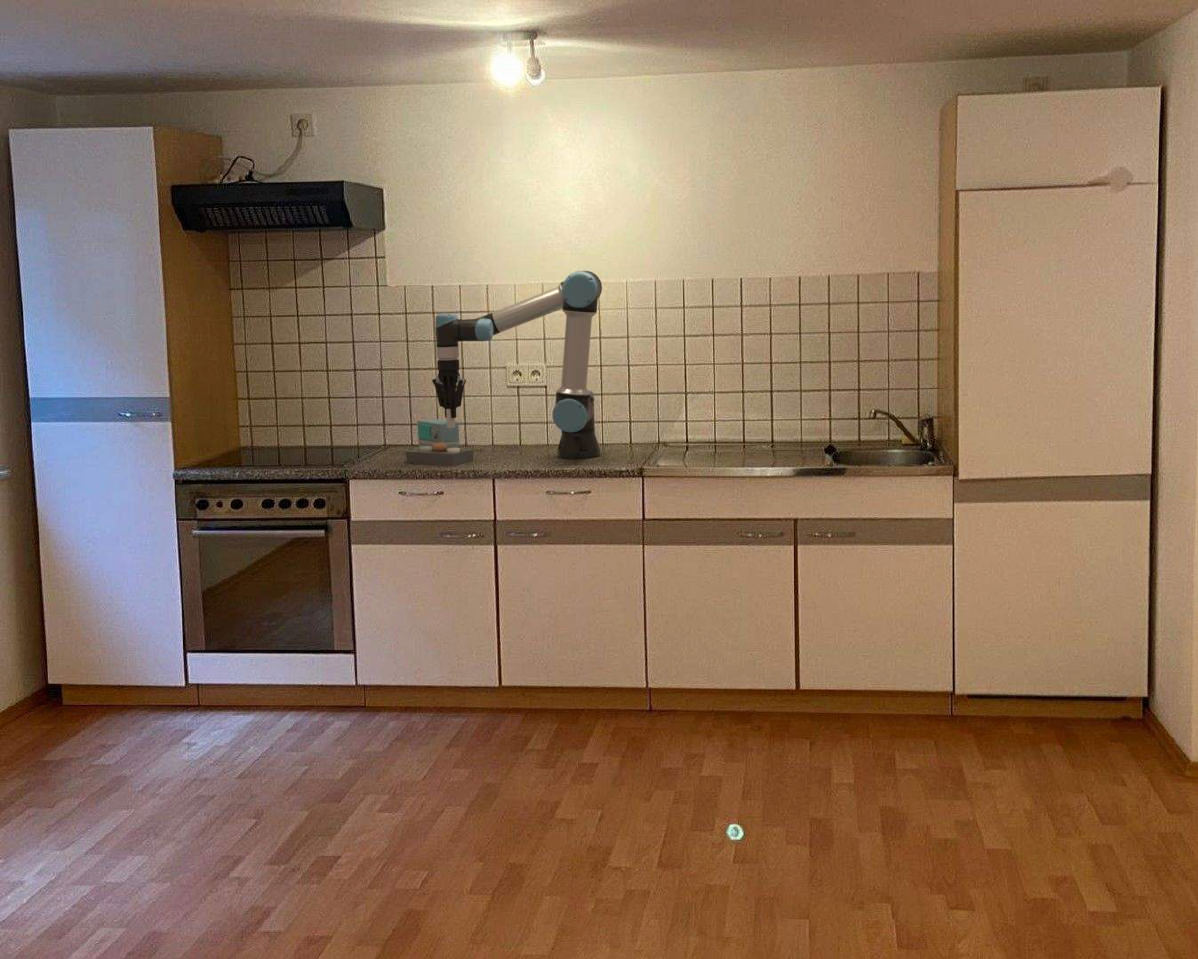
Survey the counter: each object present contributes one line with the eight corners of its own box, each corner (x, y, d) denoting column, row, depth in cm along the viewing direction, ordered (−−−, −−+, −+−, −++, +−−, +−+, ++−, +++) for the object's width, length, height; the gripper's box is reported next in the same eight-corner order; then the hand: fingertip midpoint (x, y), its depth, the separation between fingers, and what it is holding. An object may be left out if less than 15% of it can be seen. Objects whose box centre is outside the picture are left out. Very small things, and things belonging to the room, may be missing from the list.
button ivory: (462, 455, 509) (462, 447, 508) (455, 456, 505) (454, 449, 504) (452, 454, 511) (452, 447, 510) (444, 456, 507) (444, 449, 507)
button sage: (434, 453, 515) (434, 446, 514) (427, 455, 511) (426, 447, 511) (424, 452, 517) (424, 445, 517) (417, 454, 513) (416, 447, 513)
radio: (416, 453, 535) (413, 398, 532) (437, 450, 540) (434, 396, 537) (438, 457, 523) (436, 401, 519) (460, 454, 528) (457, 399, 525)
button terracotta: (448, 449, 511) (448, 442, 511) (440, 451, 508) (440, 444, 507) (438, 449, 514) (437, 442, 513) (430, 451, 510) (430, 443, 510)
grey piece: (473, 460, 511) (473, 449, 511) (452, 465, 501) (452, 454, 500) (427, 457, 521) (427, 446, 521) (406, 462, 511) (406, 451, 511)
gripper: (469, 358, 503) (472, 426, 506) (439, 357, 509) (442, 425, 513) (457, 360, 496) (460, 429, 500) (426, 359, 503) (429, 428, 507)
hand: (451, 427), depth 506 cm, fingers closed
